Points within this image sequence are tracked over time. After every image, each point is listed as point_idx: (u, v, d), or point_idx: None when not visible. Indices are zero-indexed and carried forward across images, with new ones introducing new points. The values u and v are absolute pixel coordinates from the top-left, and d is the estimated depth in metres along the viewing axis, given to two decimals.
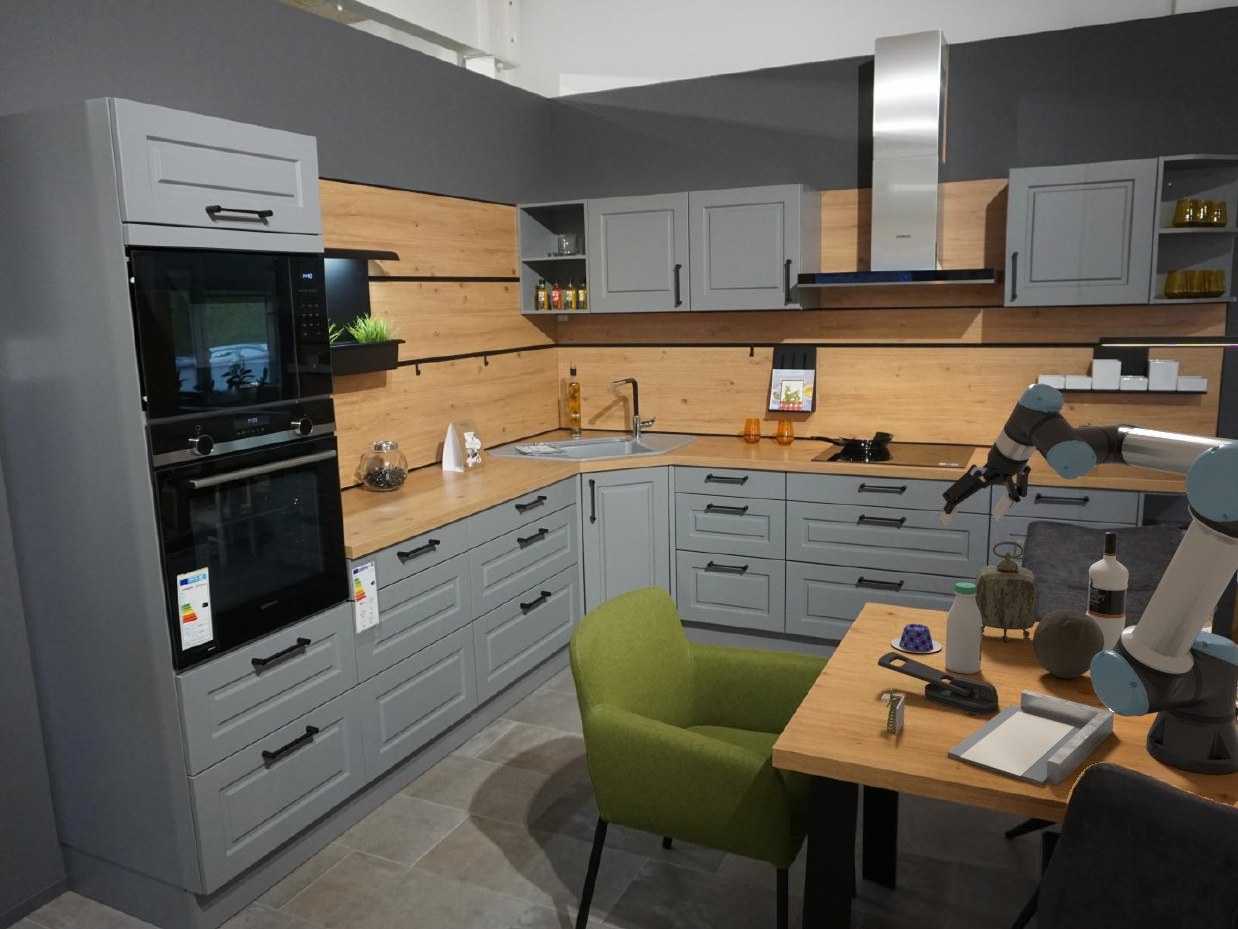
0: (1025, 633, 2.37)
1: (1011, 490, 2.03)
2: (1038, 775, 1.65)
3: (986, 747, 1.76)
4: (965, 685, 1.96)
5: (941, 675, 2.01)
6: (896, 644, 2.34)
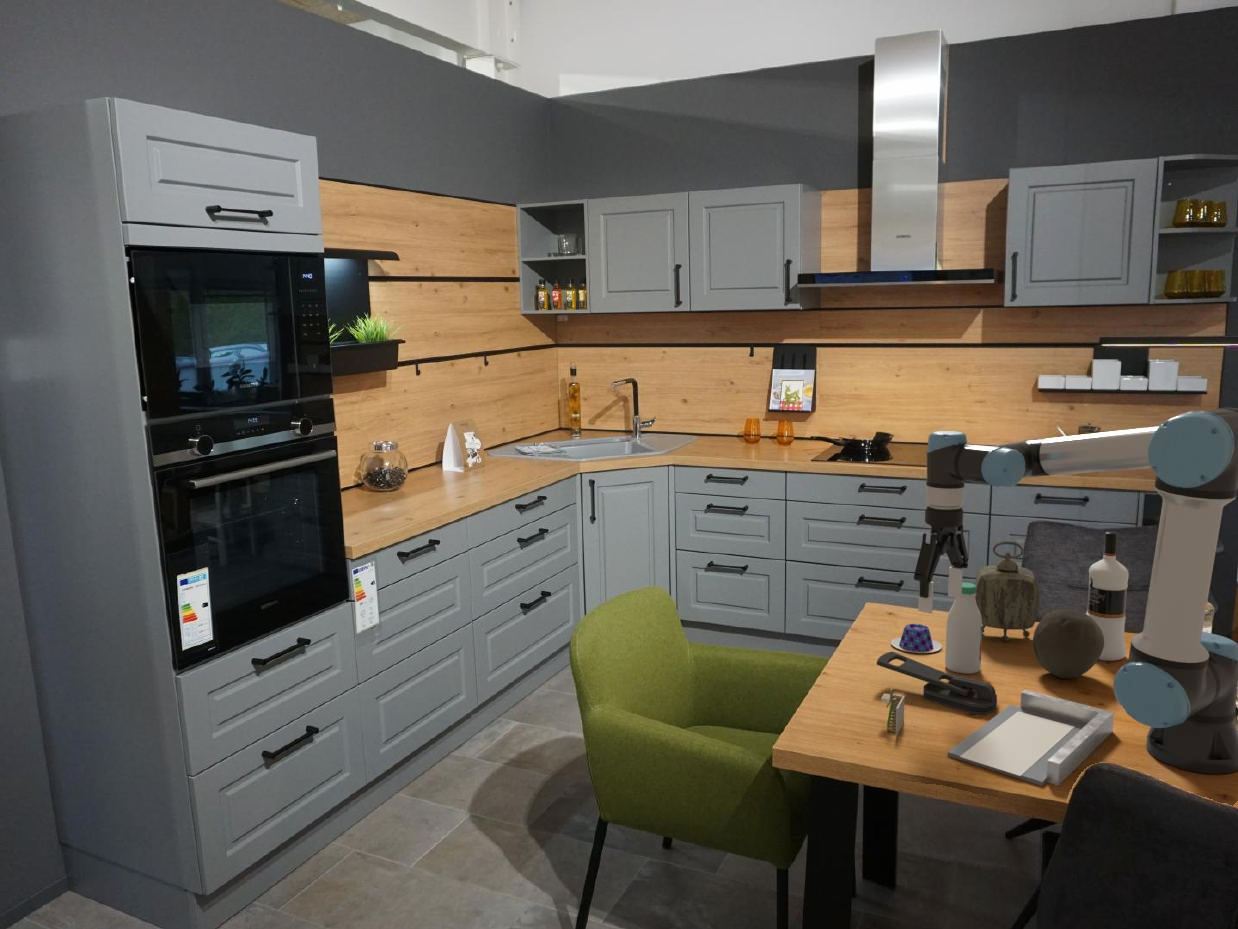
0: (1025, 633, 2.37)
1: (958, 555, 2.00)
2: (1038, 775, 1.65)
3: (986, 747, 1.76)
4: (964, 685, 1.97)
5: (940, 675, 2.01)
6: (896, 644, 2.34)
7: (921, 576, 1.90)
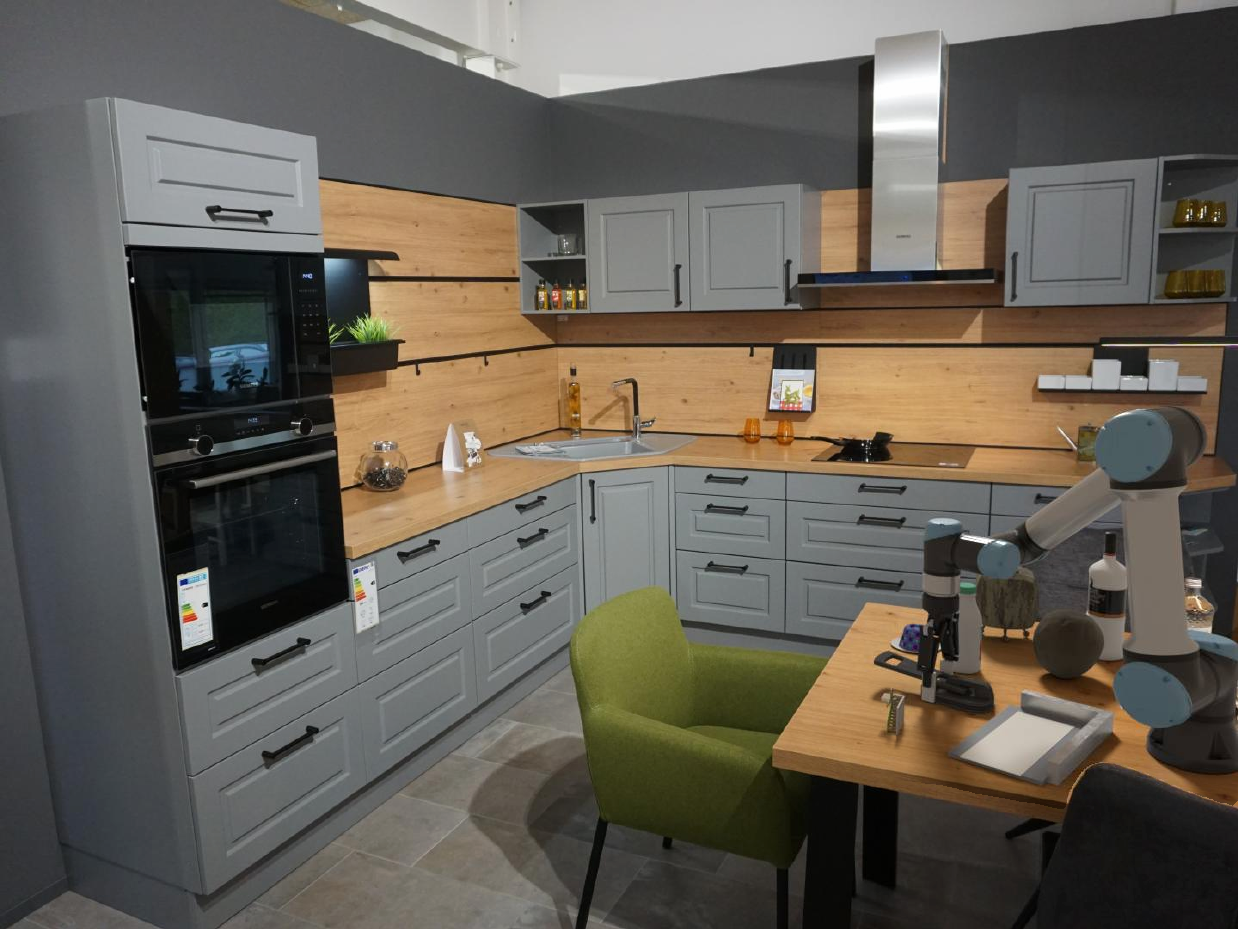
0: (1025, 633, 2.37)
1: (951, 645, 2.02)
2: (1038, 775, 1.65)
3: (986, 747, 1.76)
4: (961, 683, 1.97)
5: (937, 674, 2.02)
6: (896, 644, 2.34)
7: (924, 668, 1.95)
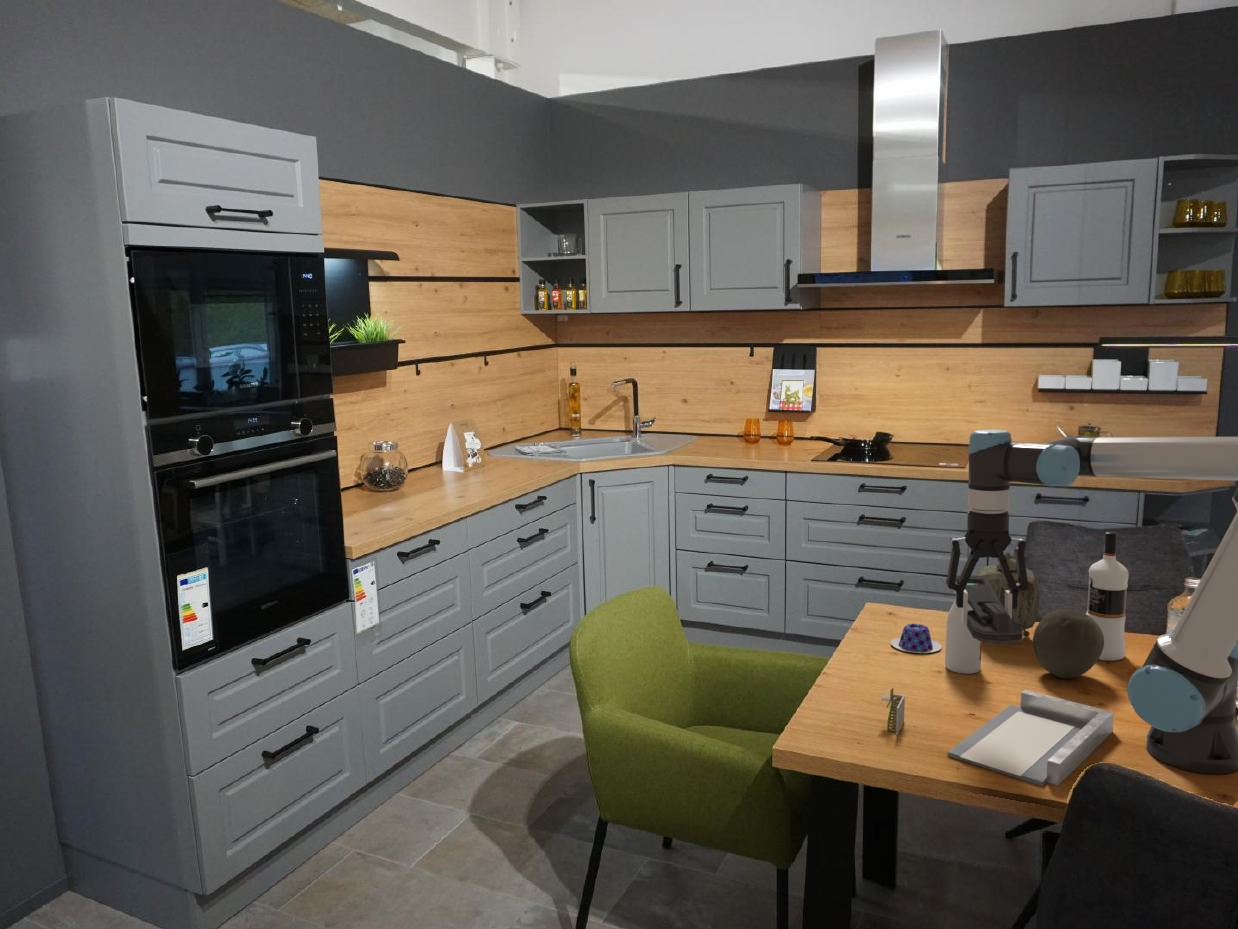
0: (1025, 633, 2.37)
1: (1006, 573, 1.82)
2: (1038, 775, 1.65)
3: (986, 747, 1.76)
4: (988, 610, 1.80)
5: (988, 600, 1.85)
6: (896, 643, 2.34)
7: None
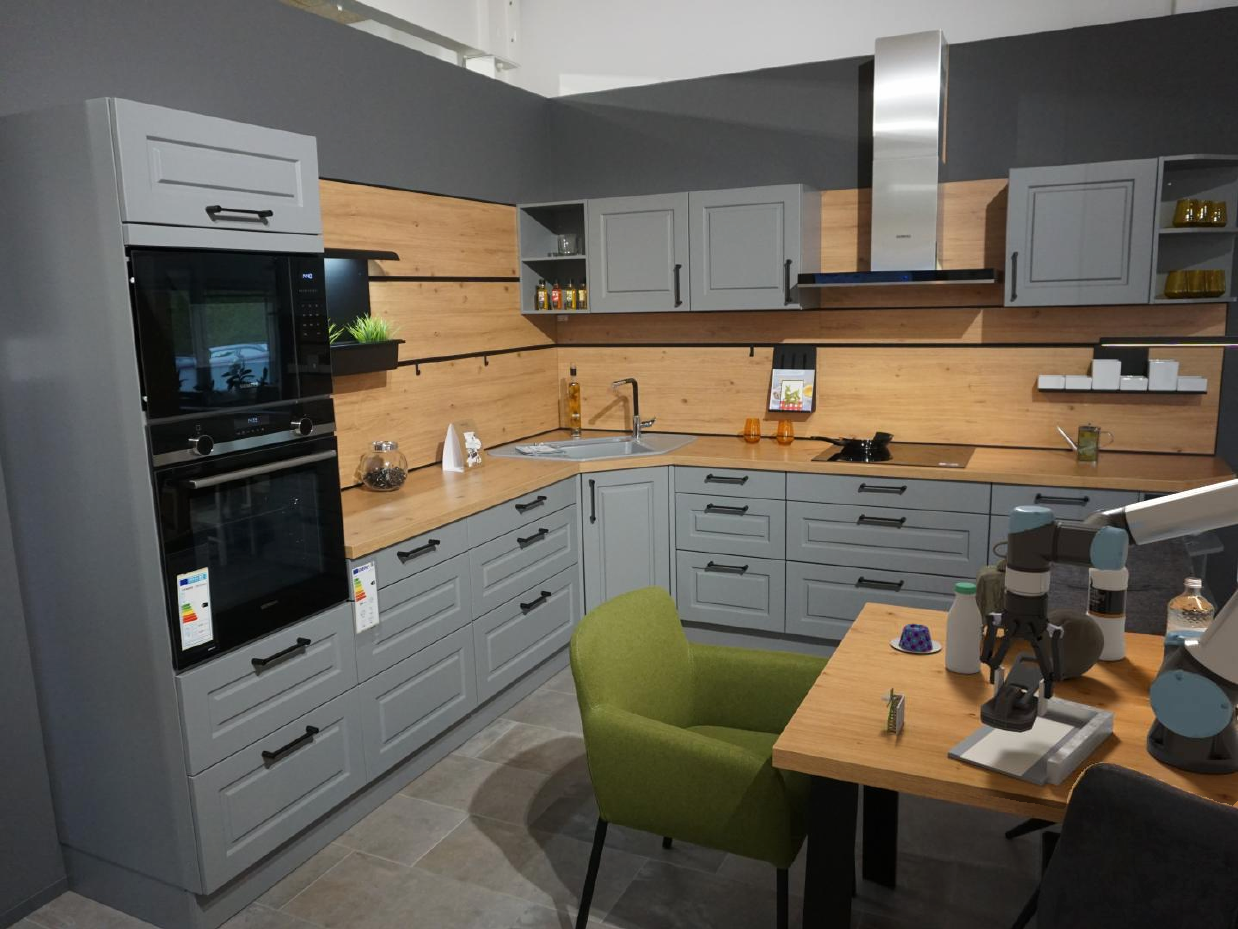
0: None
1: (1038, 659, 1.72)
2: (1038, 775, 1.65)
3: (986, 747, 1.76)
4: None
5: (1024, 684, 1.76)
6: (896, 643, 2.34)
7: None
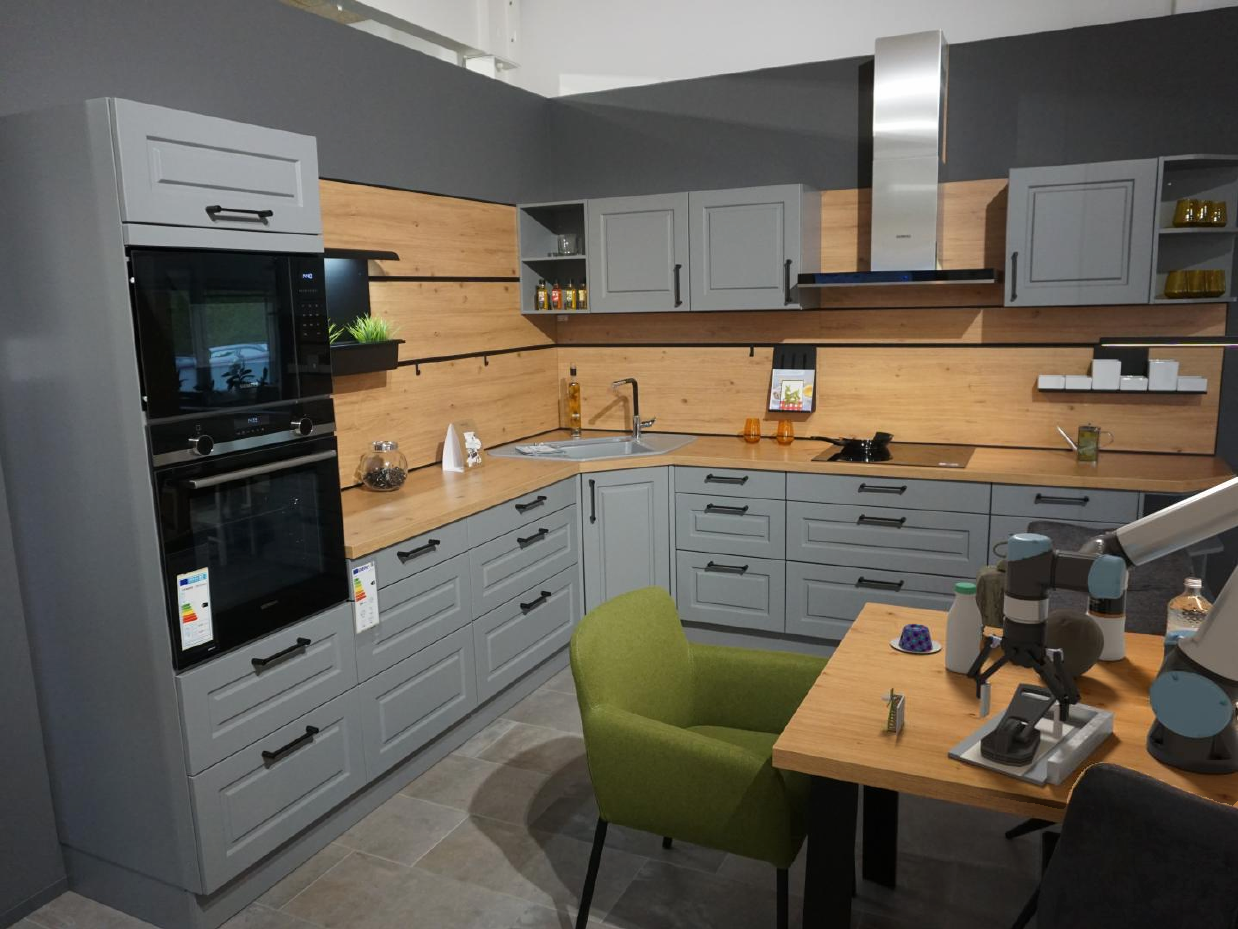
0: None
1: (1047, 684, 1.72)
2: (1038, 775, 1.65)
3: None
4: None
5: (1024, 717, 1.77)
6: (896, 643, 2.35)
7: None
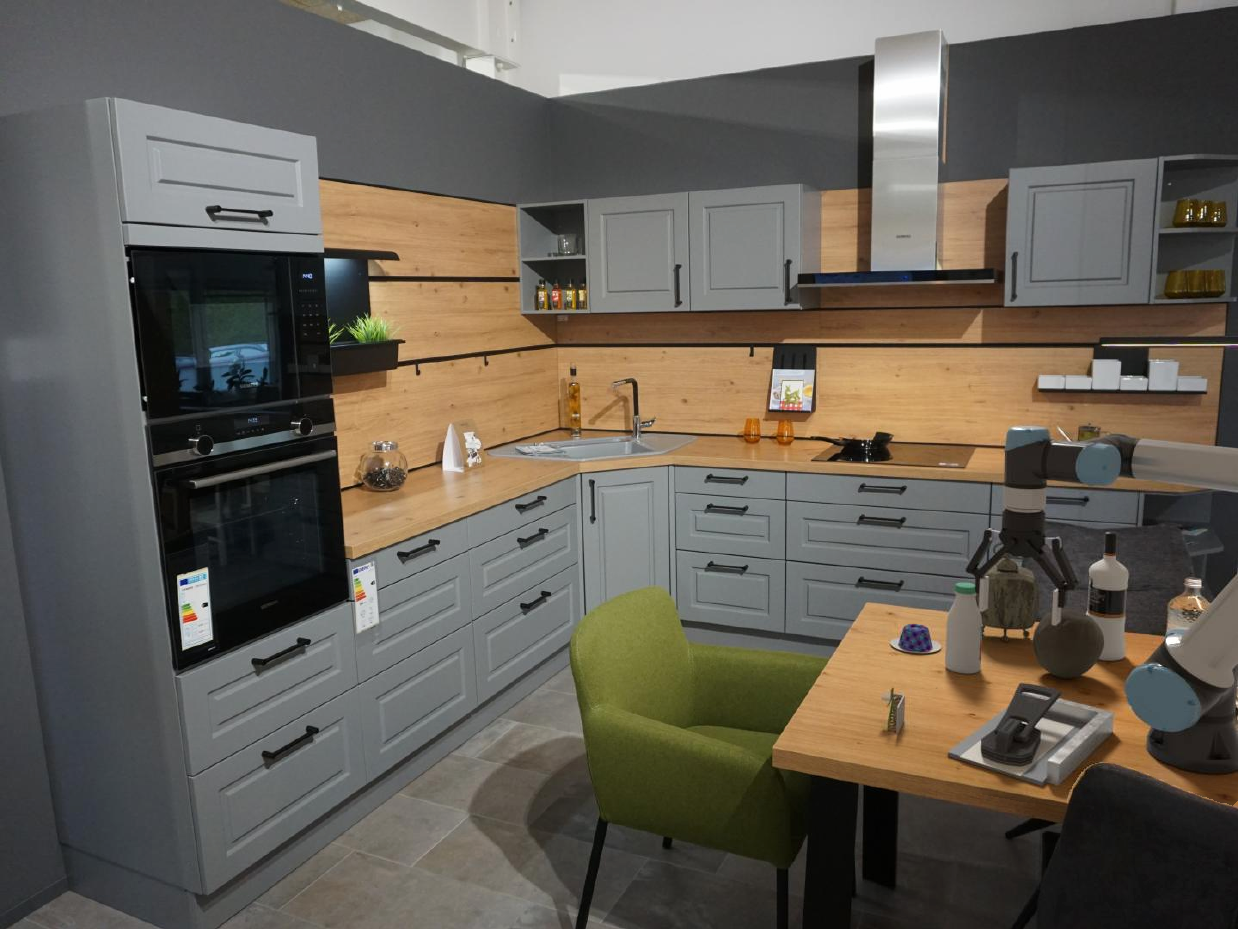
0: (1025, 633, 2.37)
1: (1046, 572, 1.76)
2: (1038, 775, 1.65)
3: None
4: None
5: (1024, 717, 1.77)
6: (896, 643, 2.35)
7: None
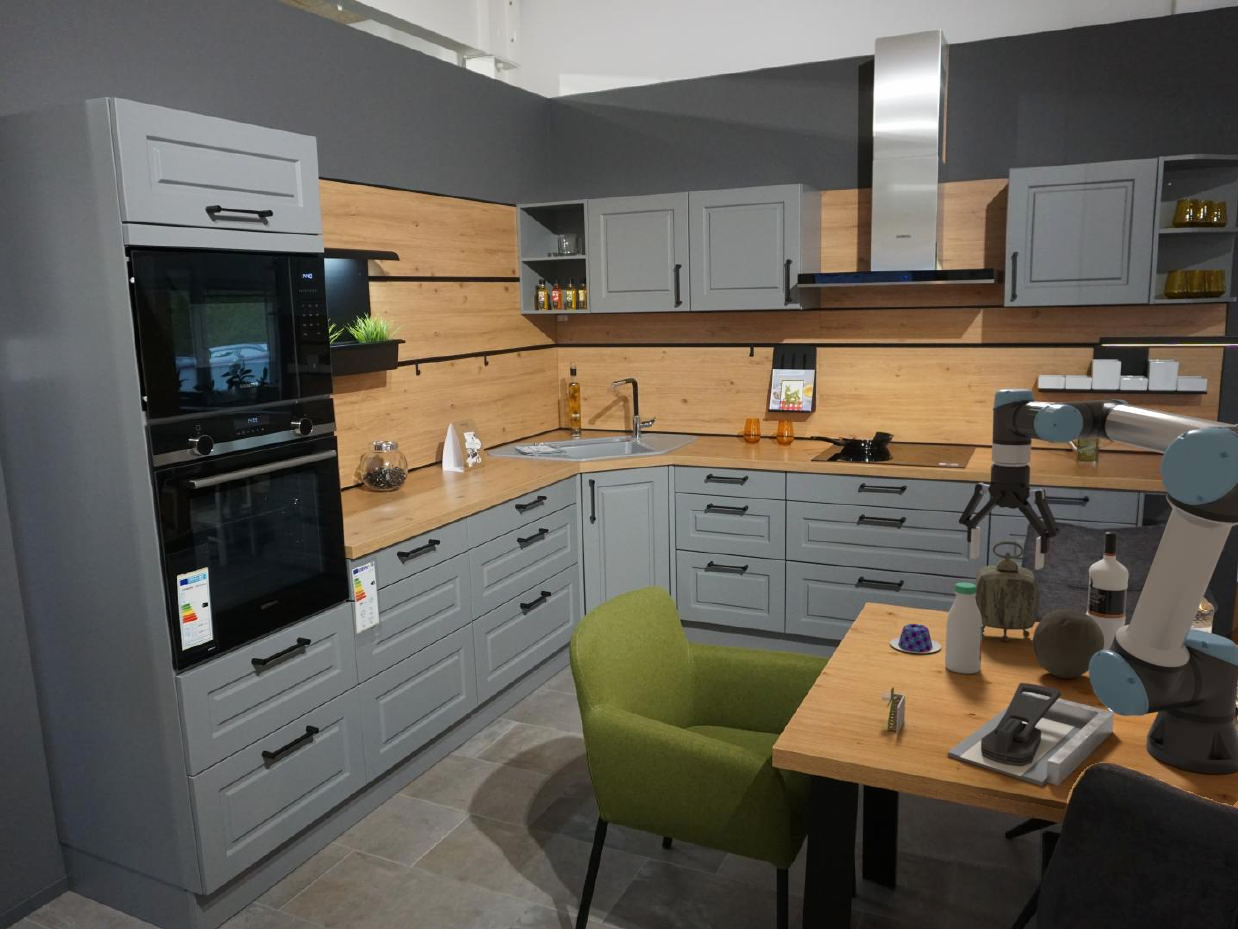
0: (1025, 633, 2.37)
1: (1030, 521, 1.93)
2: (1038, 775, 1.65)
3: None
4: None
5: (1024, 716, 1.77)
6: (896, 642, 2.35)
7: None
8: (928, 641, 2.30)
